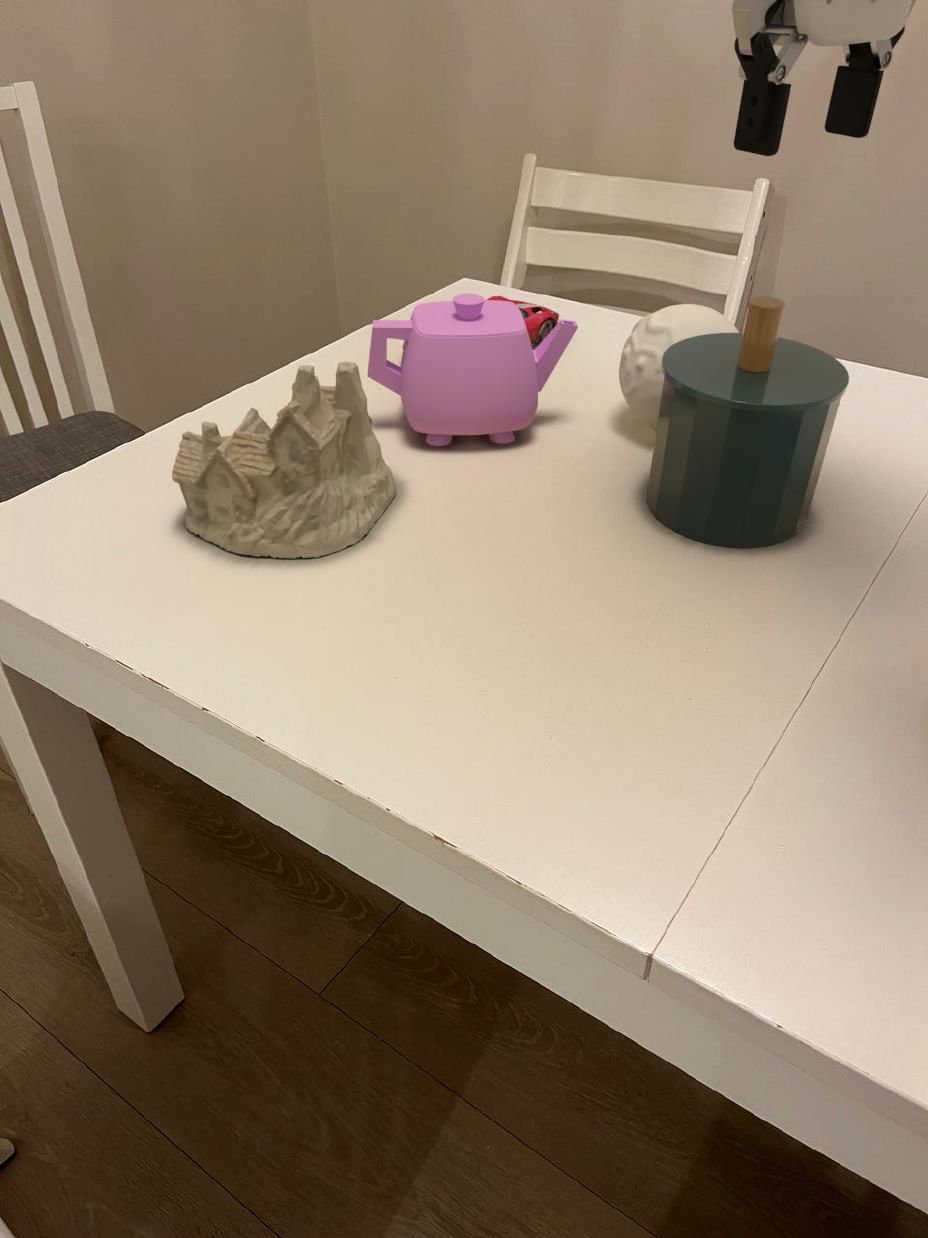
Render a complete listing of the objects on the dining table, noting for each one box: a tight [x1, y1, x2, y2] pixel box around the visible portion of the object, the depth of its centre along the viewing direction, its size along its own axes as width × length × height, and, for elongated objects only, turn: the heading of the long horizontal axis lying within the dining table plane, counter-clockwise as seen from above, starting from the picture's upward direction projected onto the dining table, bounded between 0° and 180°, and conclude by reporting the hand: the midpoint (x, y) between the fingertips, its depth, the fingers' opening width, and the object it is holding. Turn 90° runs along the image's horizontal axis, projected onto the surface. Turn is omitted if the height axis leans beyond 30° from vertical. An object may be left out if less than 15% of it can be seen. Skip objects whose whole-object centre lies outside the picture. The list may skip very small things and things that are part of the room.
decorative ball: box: [618, 303, 740, 430], centre depth 86 cm, size 12×12×12 cm
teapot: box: [367, 292, 579, 447], centre depth 86 cm, size 20×12×13 cm, turn 95°
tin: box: [646, 376, 842, 549], centre depth 75 cm, size 13×13×12 cm
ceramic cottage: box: [171, 360, 397, 560], centre depth 73 cm, size 16×16×15 cm
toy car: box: [402, 295, 560, 349], centre depth 104 cm, size 10×22×5 cm, turn 139°
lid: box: [661, 295, 850, 413], centre depth 69 cm, size 14×14×6 cm
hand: (801, 142), depth 61 cm, fingers open, 9 cm apart
